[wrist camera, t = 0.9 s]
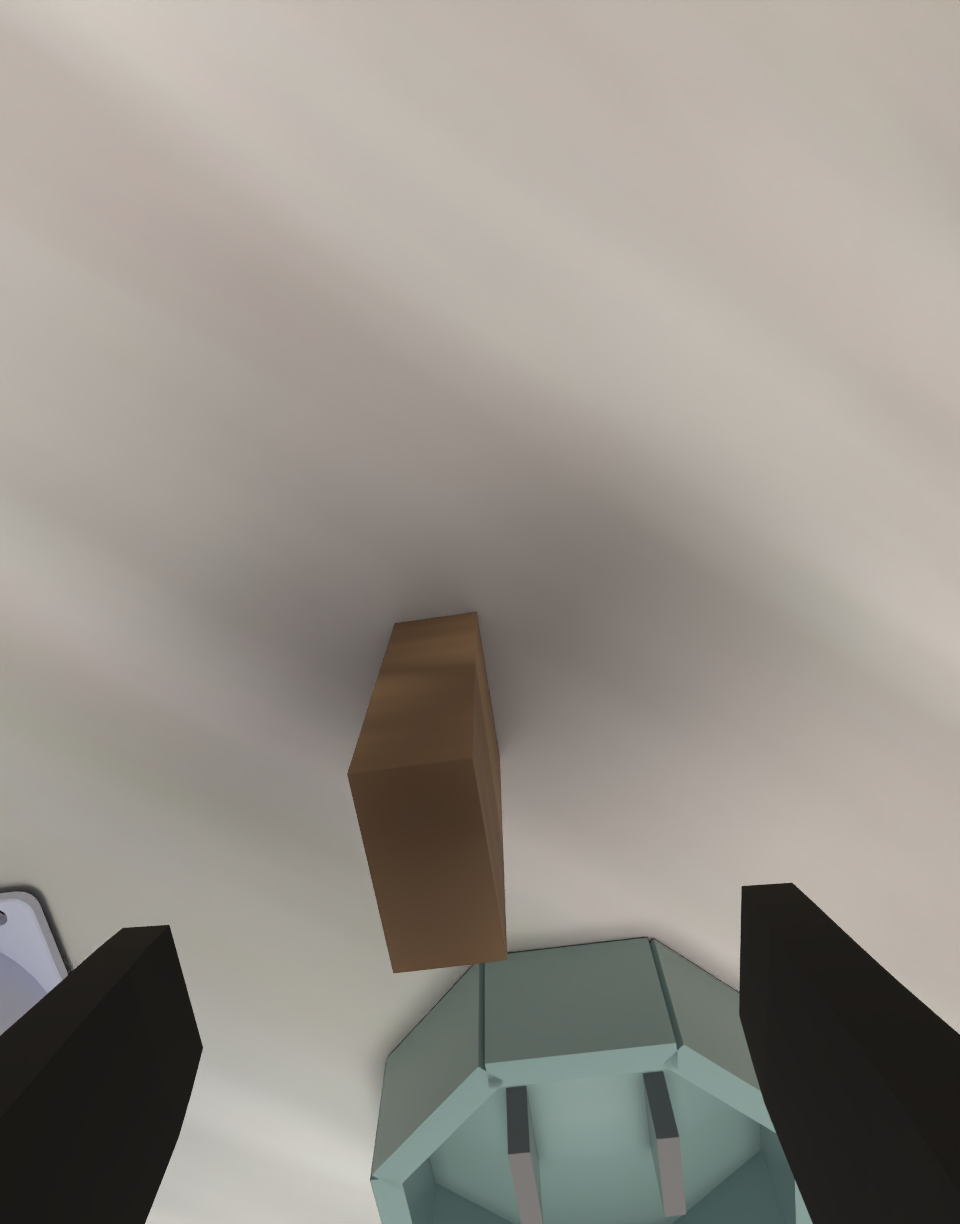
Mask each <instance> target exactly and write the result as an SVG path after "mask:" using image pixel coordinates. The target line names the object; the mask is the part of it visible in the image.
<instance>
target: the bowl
mask: <svg viewBox="0 0 960 1224" xmlns="http://www.w3.org/2000/svg"><path fill="white" fill-rule="evenodd" d="M739 994H740V993H738V992H737V991H735V990H734V989H732V988H730V987H729V986H727V985H726V984H724V983H723V982H721V981H719V980H718V979H716V978H715V977H713V976H712V975H710V974H708V973H707V972H705V971H704V970H702V969H701V968H699V967H697V966H696V965H694V964H693V963H691V962H690V961H688V960H686V959H685V958H683V957H682V956H680V955H679V954H677V953H675V952H674V951H672V950H671V949H669V948H668V947H666V946H664V945H663V944H661V943H660V942H658V941H657V940H655V939H653V940H652V941H651V942H650V943H649V941H648V937H647V938H638V939H630V940H621V941H612V942H604V943H595V944H586V945H578V946H569V947H560V948H552V949H543V950H534V951H526V952H517V953H509V954H507V960H505V961H496V962H487V963H479V964H474V965H473V966H472V967H471V968H470V969H469V970H468V971H467V972H466V974H465V975H464V976H463V977H462V978H461V979H460V980H459V981H458V982H457V983H456V984H455V985H454V986H453V988H452V989H451V990H450V991H449V992H448V993H447V994H446V995H445V996H444V997H443V998H442V999H441V1000H440V1002H439V1003H438V1004H437V1005H436V1006H435V1007H434V1008H433V1009H432V1010H431V1011H430V1012H429V1013H428V1015H427V1016H426V1017H425V1018H424V1019H423V1020H422V1021H421V1022H420V1023H419V1024H418V1025H417V1026H416V1027H415V1029H414V1030H413V1031H412V1032H411V1033H410V1034H409V1035H408V1036H407V1037H406V1038H405V1039H404V1040H403V1041H402V1043H401V1044H400V1045H399V1046H398V1047H397V1048H396V1049H395V1050H394V1051H393V1052H392V1053H391V1054H390V1055H389V1057H388V1058H387V1062H386V1066H385V1073H384V1081H383V1088H382V1096H381V1103H380V1110H379V1118H378V1125H377V1132H376V1140H375V1147H374V1155H373V1162H372V1169H371V1177H370V1182H371V1186H372V1189H373V1193H374V1197H375V1200H376V1204H377V1208H378V1211H379V1215H380V1219H381V1222H382V1224H813V1223H812V1221H811V1218H810V1216H809V1213H808V1211H807V1208H806V1206H805V1203H804V1201H803V1198H802V1196H801V1193H800V1191H799V1189H798V1186H797V1184H796V1181H795V1179H794V1176H793V1174H792V1171H791V1169H790V1166H789V1164H788V1161H787V1159H786V1156H785V1154H784V1151H783V1149H782V1146H781V1144H780V1141H779V1139H778V1136H777V1134H776V1131H775V1129H774V1126H773V1124H772V1121H771V1119H770V1116H769V1114H768V1111H767V1108H766V1106H765V1103H764V1100H763V1097H762V1094H761V1090H760V1087H759V1083H758V1080H757V1077H756V1073H755V1070H754V1067H753V1063H752V1060H751V1056H750V1053H749V1049H748V1045H747V1042H746V1038H745V1035H744V1031H743V1027H742V1024H741V1020H740V1017H739Z"/></svg>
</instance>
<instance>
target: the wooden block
mask: <svg viewBox="0 0 960 1224" xmlns="http://www.w3.org/2000/svg"><path fill="white" fill-rule="evenodd" d="M347 775H348V779H349V783H350V788H351V792H352V796H353V800H354V805H355V809H356V813H357V818H358V822H359V826H360V831H361V835H362V839H363V844H364V848H365V852H366V857H367V861H368V865H369V870H370V874H371V878H372V883H373V887H374V891H375V896H376V900H377V904H378V908H379V913H380V917H381V921H382V926H383V930H384V934H385V939H386V943H387V947H388V952H389V956H390V960H391V965H392V969H393V973H400V972H409V971H418V970H426V969H435V968H444V967H453V966H461V965H470V964H479V963H487V962H496V961H505V960H507V943H506V916H505V889H504V861H503V834H502V807H501V779H500V756H499V750H498V744H497V737H496V731H495V725H494V719H493V712H492V706H491V700H490V693H489V687H488V681H487V675H486V668H485V662H484V656H483V649H482V643H481V637H480V630H479V624H478V618H477V612H474V613H467V614H459V615H452V616H445V617H438V618H431V619H423V620H416V621H409V622H402V623H395V625H394V628H393V631H392V634H391V637H390V640H389V644H388V647H387V650H386V653H385V656H384V659H383V663H382V666H381V669H380V672H379V675H378V678H377V682H376V685H375V688H374V691H373V694H372V697H371V701H370V704H369V707H368V710H367V713H366V717H365V720H364V723H363V726H362V729H361V732H360V736H359V739H358V742H357V745H356V748H355V751H354V755H353V758H352V761H351V764H350V767H349V770H348V774H347Z"/></svg>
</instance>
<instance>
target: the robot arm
mask: <svg viewBox="0 0 960 1224" xmlns="http://www.w3.org/2000/svg"><path fill="white" fill-rule="evenodd" d="M0 911H2V912H4V913H5V914H6V915H3V914H1V913H0V1224H145V1222H146V1219H147V1217H148V1214H149V1212H150V1209H151V1207H152V1204H153V1202H154V1199H155V1197H156V1194H157V1191H158V1189H159V1186H160V1184H161V1181H162V1179H163V1176H164V1174H165V1171H166V1168H167V1166H168V1163H169V1161H170V1158H171V1156H172V1153H173V1150H174V1148H175V1145H176V1142H177V1140H178V1137H179V1134H180V1131H181V1127H182V1124H183V1120H184V1117H185V1113H186V1110H187V1106H188V1103H189V1099H190V1096H191V1092H192V1088H193V1084H194V1080H195V1077H196V1073H197V1069H198V1065H199V1061H200V1057H201V1053H202V1049H203V1046H202V1043H201V1039H200V1035H199V1032H198V1028H197V1024H196V1021H195V1017H194V1013H193V1010H192V1006H191V1002H190V999H189V995H188V991H187V988H186V984H185V980H184V977H183V973H182V969H181V966H180V962H179V958H178V955H177V951H176V947H175V944H174V940H173V937H172V933H171V929H170V926H169V925H161V926H146V927H132V928H122V929H121V930H120V931H119V932H117V933H116V934H115V935H114V936H112V937H111V938H110V939H109V940H108V941H106V942H105V943H104V944H103V945H102V946H101V947H99V948H98V949H97V950H96V951H95V952H94V953H92V954H91V955H90V956H89V957H88V958H87V959H86V960H85V961H83V962H82V963H81V964H80V965H79V966H78V967H77V968H76V969H74V970H73V971H72V972H71V973H70V974H69V975H68V973H67V971H66V968H65V966H64V963H63V961H62V958H61V956H60V953H59V951H58V948H57V946H56V943H55V941H54V938H53V936H52V933H51V931H50V928H49V926H48V923H47V921H46V918H45V916H44V913H43V911H42V908H41V906H40V904H39V902H38V901H37V899H36V898H35V897H34V896H32V895H31V894H28V893H26V892H17V891H16V892H8V893H0ZM739 1017H740V1020H741V1024H742V1027H743V1031H744V1035H745V1038H746V1042H747V1045H748V1049H749V1053H750V1056H751V1060H752V1063H753V1067H754V1070H755V1073H756V1077H757V1080H758V1083H759V1087H760V1090H761V1094H762V1097H763V1100H764V1103H765V1106H766V1108H767V1111H768V1114H769V1116H770V1119H771V1121H772V1124H773V1126H774V1129H775V1131H776V1134H777V1136H778V1139H779V1141H780V1144H781V1146H782V1149H783V1151H784V1154H785V1156H786V1159H787V1161H788V1164H789V1166H790V1169H791V1171H792V1174H793V1176H794V1179H795V1181H796V1184H797V1186H798V1189H799V1191H800V1193H801V1196H802V1198H803V1201H804V1203H805V1206H806V1208H807V1211H808V1213H809V1216H810V1218H811V1221H812V1223H813V1224H960V1034H958V1033H957V1032H956V1031H955V1030H954V1029H952V1028H951V1027H950V1026H949V1025H948V1024H947V1023H946V1022H944V1021H943V1020H942V1019H941V1018H940V1017H939V1016H938V1015H936V1014H935V1013H934V1012H933V1011H932V1010H931V1009H930V1008H928V1007H927V1006H926V1005H925V1004H924V1003H923V1002H921V1001H920V1000H919V999H918V998H917V997H916V996H915V995H913V994H912V993H911V992H910V991H909V990H908V989H907V988H905V987H904V986H903V985H902V984H901V983H900V982H899V981H898V980H896V979H895V978H894V977H893V976H892V975H891V974H890V973H889V972H888V971H886V970H885V969H884V968H883V967H882V966H881V965H880V964H879V963H878V962H877V961H875V960H874V959H873V958H872V957H871V956H870V955H869V954H868V953H867V952H866V951H865V950H864V949H863V948H861V947H860V946H859V945H858V944H857V943H856V942H855V941H854V940H853V939H852V938H851V937H850V936H849V935H847V934H846V933H845V932H844V931H843V930H842V929H841V928H840V927H839V926H838V925H837V924H836V923H835V922H834V921H833V920H832V919H830V918H829V917H828V916H827V915H826V914H825V913H824V912H823V911H822V910H821V909H820V908H819V907H818V906H817V905H816V904H815V903H814V902H812V901H811V900H810V899H809V898H808V897H807V896H806V895H805V894H804V893H803V892H802V891H801V890H800V889H798V888H797V887H796V886H795V885H794V884H793V883H782V884H767V885H753V886H742V900H741V947H740V994H739Z"/></svg>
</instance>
